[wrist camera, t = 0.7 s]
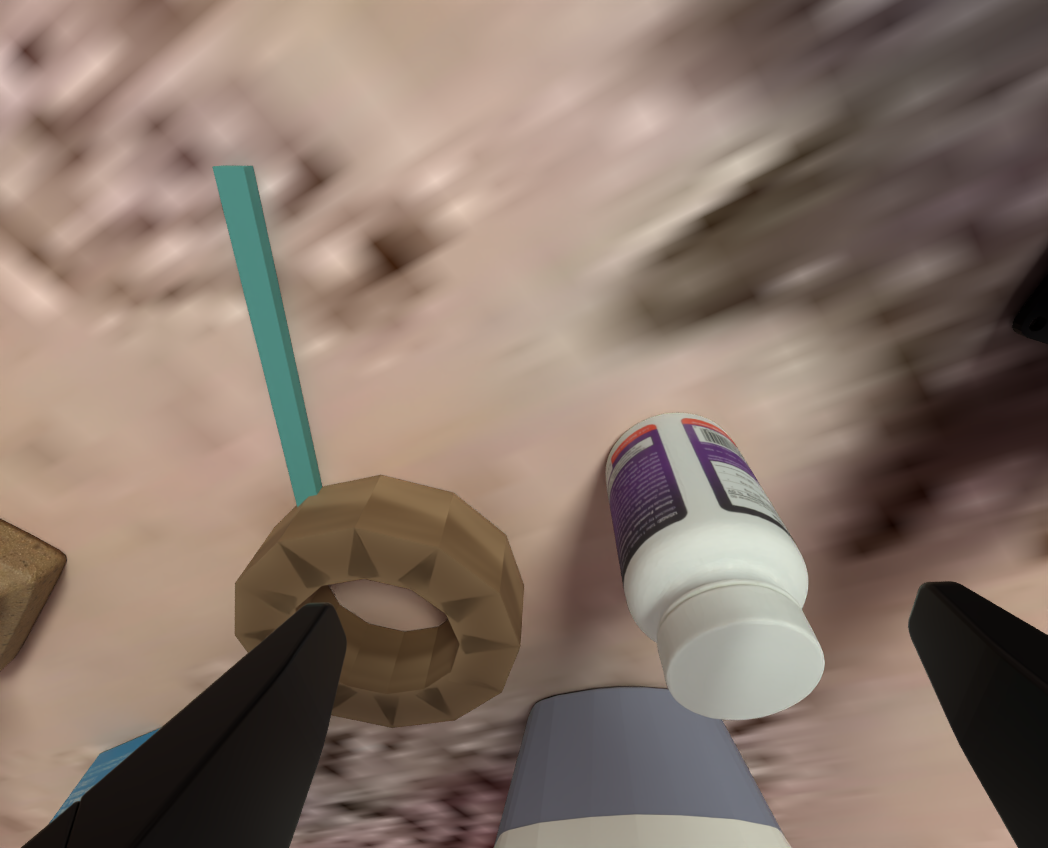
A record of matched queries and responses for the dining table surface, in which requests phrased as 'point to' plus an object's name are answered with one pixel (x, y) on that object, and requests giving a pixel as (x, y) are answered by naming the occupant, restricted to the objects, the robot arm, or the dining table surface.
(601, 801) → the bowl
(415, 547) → the brown faceted ring
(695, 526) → the pill bottle
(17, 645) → the candle holder
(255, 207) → the teal stick
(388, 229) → the dining table surface
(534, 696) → the dining table surface
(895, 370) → the dining table surface
